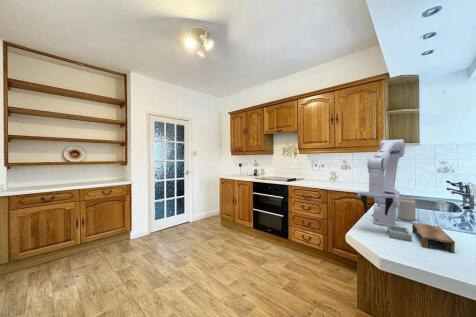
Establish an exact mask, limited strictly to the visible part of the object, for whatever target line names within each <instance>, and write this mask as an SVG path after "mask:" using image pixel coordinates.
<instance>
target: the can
mask: <svg viewBox="0 0 476 317" xmlns="http://www.w3.org/2000/svg"><path fill="white" fill-rule="evenodd" d="M416 203H417V202H416V200H415V198H413V197H410V196H400V205H399V207H397V218H398V219H400V220H403V221H407V222H408V221H409V222H413V221H415V220H416V206H417V205H416Z"/></svg>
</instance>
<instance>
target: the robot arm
mask: <svg viewBox="0 0 476 317" xmlns="http://www.w3.org/2000/svg"><path fill="white" fill-rule="evenodd" d="M405 149H406V141H405V140H404V139H403V138H401V139H382V140H381V141H380V143H379V150H377V151H376V152H375V154H374V156H372V157H370V158H368V159H367V163H366V164H367V167H366V168H367V173H368V174H369V175H368V177H369V178H368V179H369V180H368V191H357V197H360V200H361V201H362V204H363V208H364V213H366V214H367V213H368V205H367V204H368V198H374V202H375V204H376V205H375V204H374V205H373V213H372V214H373V215H372V220H373V221H372V222H373V224H374V225H381V226H387V227H388V225H391V226H398V224H397V223H396V222H397V221H396V219H397V218H396V215H397V214H396V213H397V208H398V207H399V205H400V197H401V193H400V191H398V190H397V189H396V188H395V185H396V178H397V171H398V164H399V161H400V159H401V158H402V157H404V155H405V151H406V150H405Z"/></svg>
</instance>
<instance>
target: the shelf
mask: <svg viewBox="0 0 476 317" xmlns="http://www.w3.org/2000/svg"><path fill="white" fill-rule="evenodd" d="M411 227H412V230H411V232H412V234H419V236H420V237H421V238H420V240H421V245H420V246H421V248H425V249H428V242H429V240H431V241H436V242H437V241H438V242H441V243H442V244H443V245H444V246H445V247H446V249H447V250H448V251H449V252H450V253H452V254H455V248H456V247H455V246H456V244H455V243H456V241H455V240H454V239H453V238H451V237H450V235H448V234H447V233H446V232H445V231H444V230H443V229H442V228H441V227H440V226H439V225H438V226H437V225H430V224H422V223H416V222H412V226H411Z"/></svg>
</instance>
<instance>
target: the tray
mask: <svg viewBox="0 0 476 317" xmlns="http://www.w3.org/2000/svg"><path fill="white" fill-rule="evenodd" d="M387 232H388V235H389V239H393V240H398V241H399V240H400V241H404V242H409V243H410V242H411V243H412V241H413V240H412V238H413V236H412V235H413V234H411V232H410V230H409V228H408V227H405V226H398V225H397V226H391V225H388V226H387Z"/></svg>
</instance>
